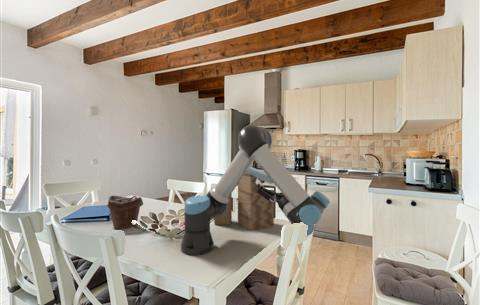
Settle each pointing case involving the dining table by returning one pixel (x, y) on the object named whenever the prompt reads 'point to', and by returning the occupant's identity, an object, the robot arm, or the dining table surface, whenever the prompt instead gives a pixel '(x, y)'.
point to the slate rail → (259, 174)
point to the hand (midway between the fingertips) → (267, 179)
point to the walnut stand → (253, 205)
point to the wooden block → (225, 215)
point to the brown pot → (124, 210)
